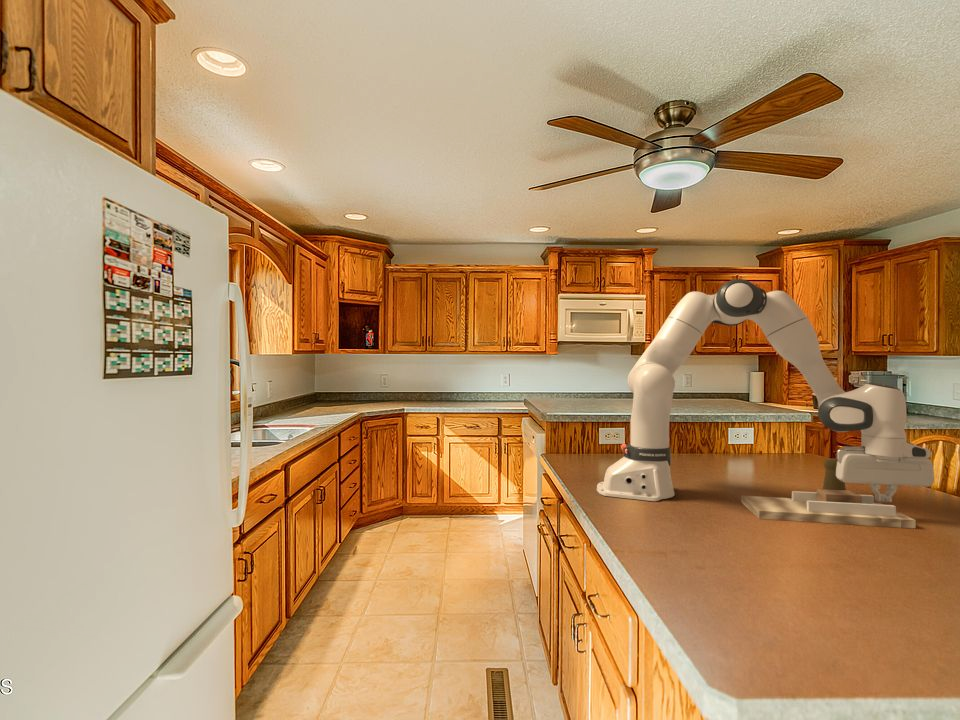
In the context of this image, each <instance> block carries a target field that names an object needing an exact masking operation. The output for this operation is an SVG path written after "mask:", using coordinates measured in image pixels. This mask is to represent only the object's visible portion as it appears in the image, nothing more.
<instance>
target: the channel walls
mask: <svg viewBox="0 0 960 720" xmlns="http://www.w3.org/2000/svg"><path fill="white" fill-rule="evenodd" d="M860 495H861V496H862V504H861V503H843V502H825V501H817V491H814V492H813V491H799V490H798V491H796V490H792V491H791V498H792V501H797V502H807V511H809V512H825V513H842V514H858V515H875V516H892V517H896V511H897V507H896V505H893V504H883V505H879V504H874V503H875V495H872V494H860Z"/></svg>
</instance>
